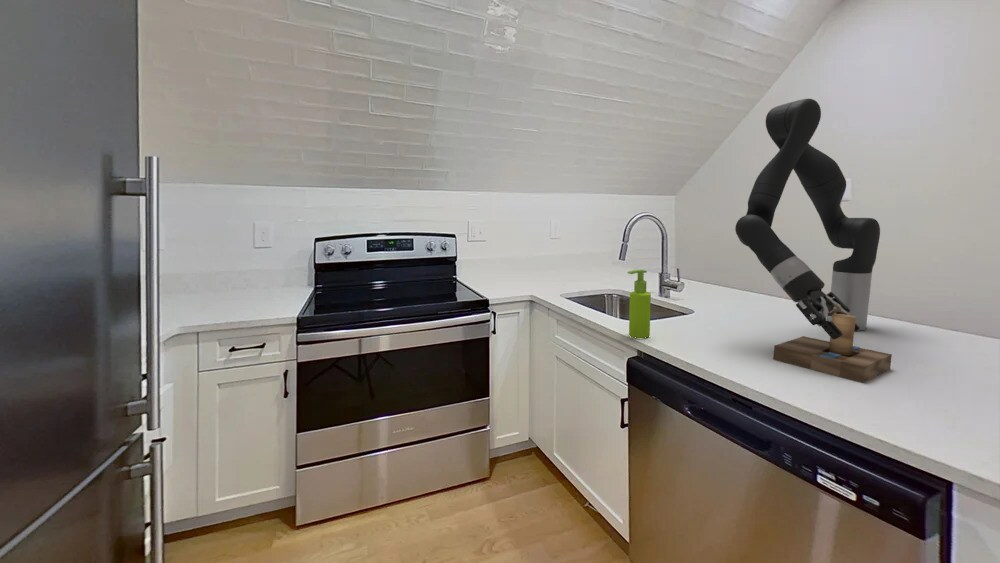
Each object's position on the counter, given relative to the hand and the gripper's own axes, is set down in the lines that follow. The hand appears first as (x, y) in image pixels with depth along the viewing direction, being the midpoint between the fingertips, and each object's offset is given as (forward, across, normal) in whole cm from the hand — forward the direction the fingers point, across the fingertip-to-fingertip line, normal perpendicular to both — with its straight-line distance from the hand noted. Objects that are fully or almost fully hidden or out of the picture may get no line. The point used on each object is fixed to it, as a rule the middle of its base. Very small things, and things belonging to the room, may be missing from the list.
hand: (847, 334), depth 98 cm
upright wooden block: (+5, 0, +6) cm, 8 cm away
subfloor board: (+4, 0, +8) cm, 8 cm away
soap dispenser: (-26, -18, +38) cm, 49 cm away
